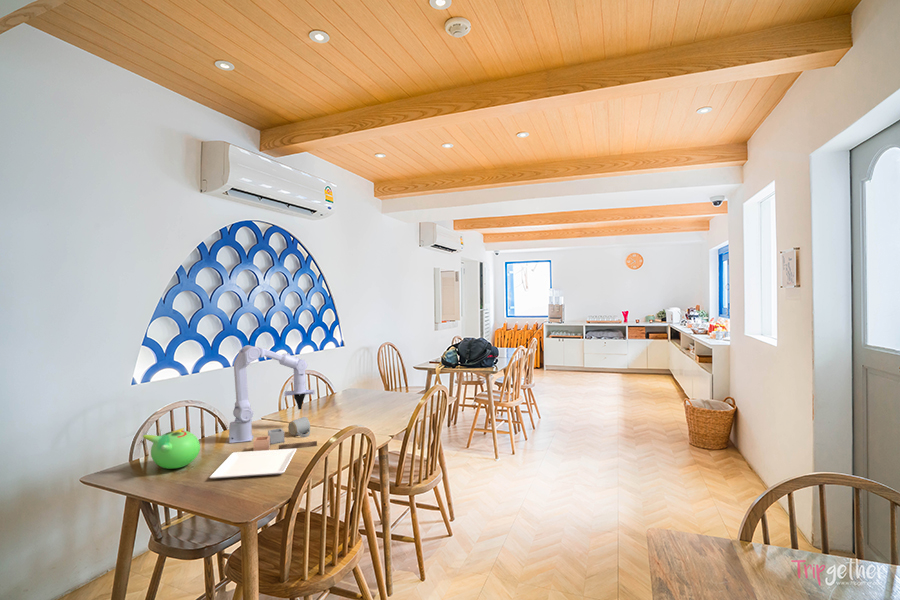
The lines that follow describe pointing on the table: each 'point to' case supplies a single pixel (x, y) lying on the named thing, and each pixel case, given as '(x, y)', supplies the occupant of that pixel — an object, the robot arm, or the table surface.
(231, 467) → the plate
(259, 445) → the terracotta pot
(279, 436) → the slate pot
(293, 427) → the ceramic mug
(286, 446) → the walnut strip
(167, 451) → the green teapot
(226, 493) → the table surface
